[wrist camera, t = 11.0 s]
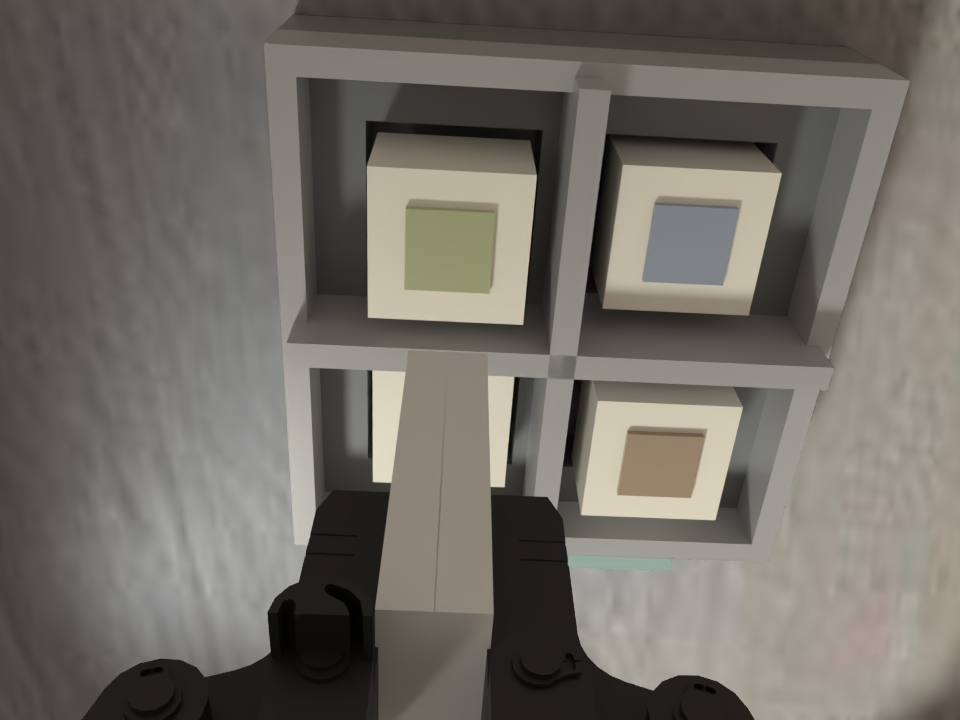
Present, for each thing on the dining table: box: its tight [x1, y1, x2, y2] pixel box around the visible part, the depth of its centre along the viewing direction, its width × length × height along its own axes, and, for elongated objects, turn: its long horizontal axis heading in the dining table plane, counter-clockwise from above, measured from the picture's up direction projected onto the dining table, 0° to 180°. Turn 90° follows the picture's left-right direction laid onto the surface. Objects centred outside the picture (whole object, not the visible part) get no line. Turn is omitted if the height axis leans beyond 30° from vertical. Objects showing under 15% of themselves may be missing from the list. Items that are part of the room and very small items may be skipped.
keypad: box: [264, 14, 910, 571], centre depth 29 cm, size 17×18×6 cm
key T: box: [590, 134, 782, 316], centre depth 27 cm, size 4×4×3 cm
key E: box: [572, 380, 743, 520], centre depth 30 cm, size 4×4×3 cm
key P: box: [367, 132, 537, 325], centre depth 26 cm, size 4×4×3 cm
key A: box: [372, 370, 514, 487], centre depth 31 cm, size 4×4×3 cm
